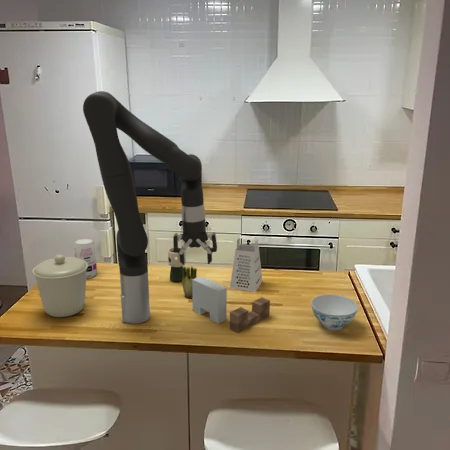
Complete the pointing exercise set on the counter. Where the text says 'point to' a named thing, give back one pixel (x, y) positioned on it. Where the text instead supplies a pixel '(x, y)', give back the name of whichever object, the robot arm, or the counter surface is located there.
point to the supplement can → (86, 255)
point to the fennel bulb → (188, 280)
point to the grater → (246, 265)
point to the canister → (61, 285)
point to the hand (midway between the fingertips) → (196, 263)
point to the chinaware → (333, 310)
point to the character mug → (175, 265)
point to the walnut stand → (249, 315)
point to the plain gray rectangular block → (209, 299)
